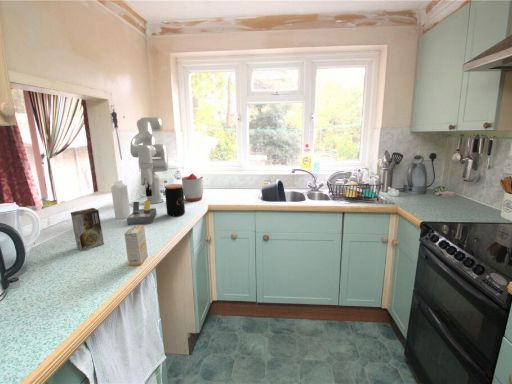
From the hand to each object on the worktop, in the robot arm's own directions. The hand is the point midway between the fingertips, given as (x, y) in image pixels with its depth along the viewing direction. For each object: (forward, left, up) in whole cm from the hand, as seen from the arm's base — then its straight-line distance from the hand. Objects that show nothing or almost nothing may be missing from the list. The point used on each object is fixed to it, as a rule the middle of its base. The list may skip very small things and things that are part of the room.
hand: (149, 196), depth 162 cm
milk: (+2, -16, -12) cm, 20 cm away
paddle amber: (+10, 0, -8) cm, 13 cm away
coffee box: (+45, -18, -12) cm, 50 cm away
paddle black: (+10, -6, -8) cm, 14 cm away
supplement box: (+66, +7, -12) cm, 68 cm away
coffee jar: (+4, +15, -12) cm, 20 cm away
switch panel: (+10, -3, -12) cm, 16 cm away
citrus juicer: (-34, +25, -12) cm, 44 cm away
